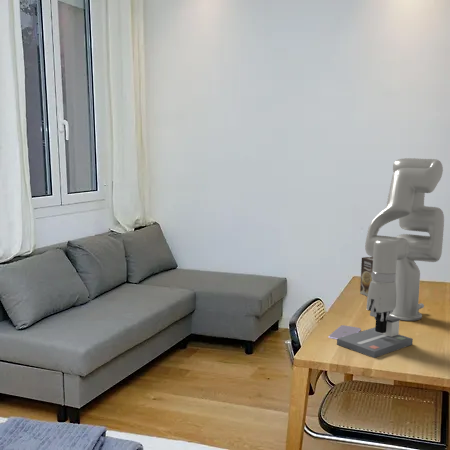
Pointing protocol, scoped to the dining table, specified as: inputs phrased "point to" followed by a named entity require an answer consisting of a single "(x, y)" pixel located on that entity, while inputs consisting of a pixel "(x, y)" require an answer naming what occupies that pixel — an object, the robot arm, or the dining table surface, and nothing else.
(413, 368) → the dining table surface
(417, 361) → the dining table surface
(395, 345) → the switch panel
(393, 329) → the slider knob
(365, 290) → the coffee box
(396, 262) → the robot arm
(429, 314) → the dining table surface
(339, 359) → the dining table surface
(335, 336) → the mobile phone
